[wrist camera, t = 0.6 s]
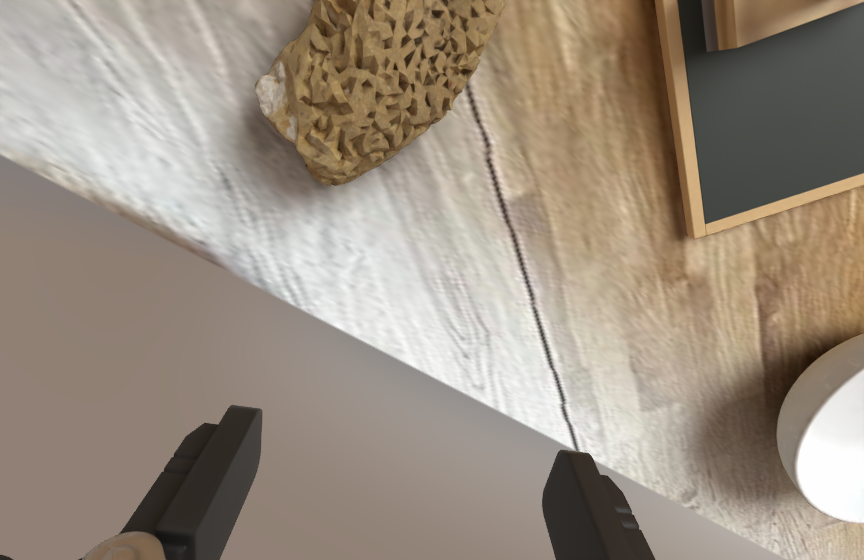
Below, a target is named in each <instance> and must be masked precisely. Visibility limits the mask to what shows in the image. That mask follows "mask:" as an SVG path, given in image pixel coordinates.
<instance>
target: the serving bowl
mask: <svg viewBox="0 0 864 560" xmlns="http://www.w3.org/2000/svg"><path fill="white" fill-rule="evenodd" d="M777 446H778V451H779V455H780V458H781V461H782V464H783V466H784V468H785V470H786V472H787V474H788V476H789V477H790V479H791V481H792V482H793V484H794V485H795V487H796V488H797V490H798V491H799V492H800V494H801V495H802V496H803V498H804V499H805V500H806V501H807V502H808V503H809V504H810V505H811V506H813V507H814V508H815V509H817V510H818V511H820V512H821V513H823V514H825V515H827V516H830V517H832V518H835V519H838V520H841V521H846V522H852V523H860V524H864V333H863V334H861V335H858V336H856V337H853V338H851V339H849V340H847V341H845V342H843V343H841V344H839V345H837V346H835V347H834V348H832V349H831V350H829V351H828V352H826V353H825V354H823V355H822V356H821V357H819V358H818V359H817V360H815V361H814V362H813V363H812V364H811V365H810V366H809V367H808V368H807V369H806V370H805V371H804V372H803V373H802V374H801V375H800V376H799V378H798V379H797V380H796V382H795V383H794V384H793V386H792V387H791V389H790V390H789V392H788V394H787V396H786V398H785V400H784V402H783V404H782V407H781V410H780V413H779V417H778V423H777Z"/></svg>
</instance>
